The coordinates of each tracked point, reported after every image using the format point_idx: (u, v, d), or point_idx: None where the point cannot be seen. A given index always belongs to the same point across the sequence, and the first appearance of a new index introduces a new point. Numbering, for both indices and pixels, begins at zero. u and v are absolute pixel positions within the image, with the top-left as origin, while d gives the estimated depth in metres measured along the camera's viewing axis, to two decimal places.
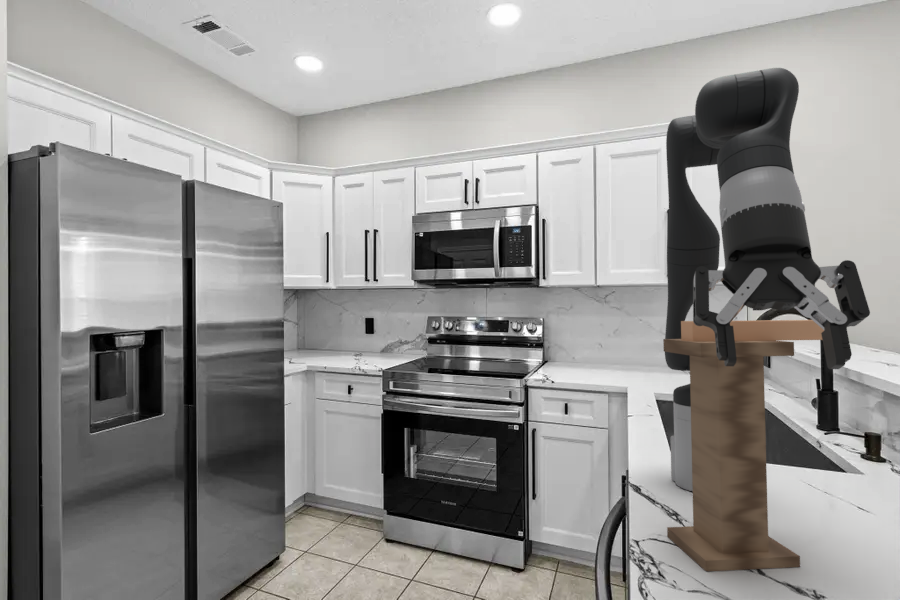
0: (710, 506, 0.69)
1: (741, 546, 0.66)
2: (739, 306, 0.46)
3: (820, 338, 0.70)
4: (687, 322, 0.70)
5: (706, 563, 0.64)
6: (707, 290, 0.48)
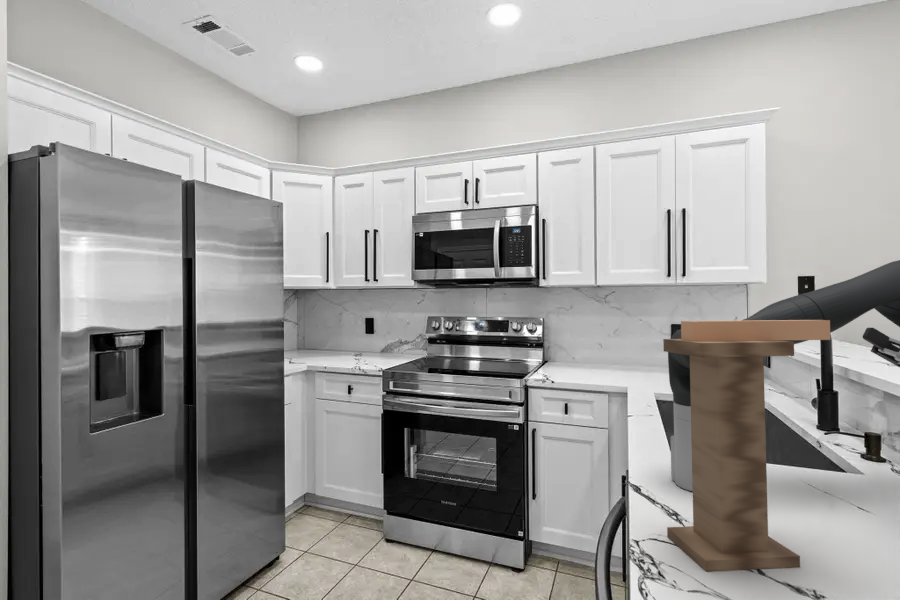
0: (710, 506, 0.69)
1: (741, 546, 0.66)
2: None
3: (820, 338, 0.70)
4: (687, 322, 0.70)
5: (706, 563, 0.64)
6: None
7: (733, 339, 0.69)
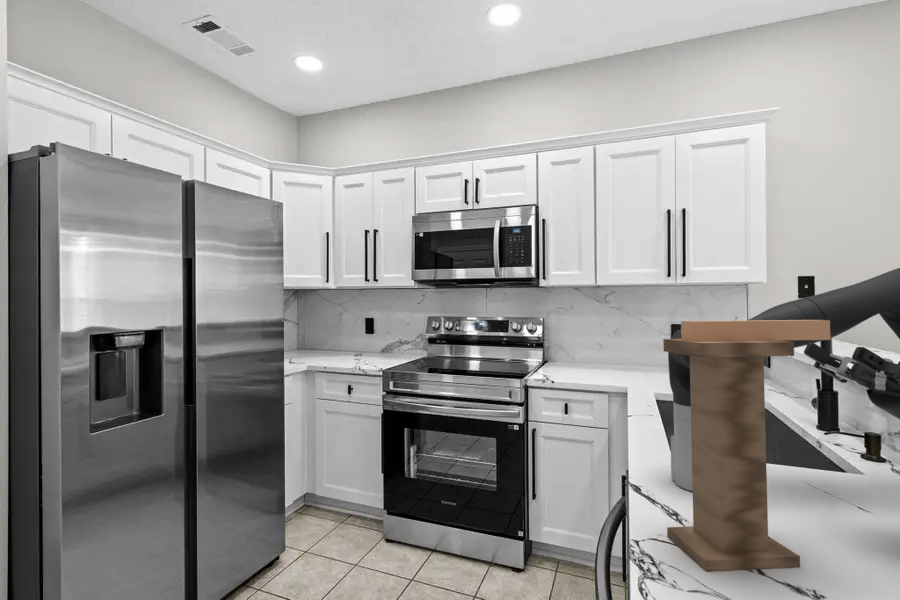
0: (710, 506, 0.69)
1: (741, 546, 0.66)
2: (876, 378, 0.69)
3: (820, 338, 0.70)
4: (687, 322, 0.70)
5: (706, 563, 0.64)
6: None
7: (733, 339, 0.69)
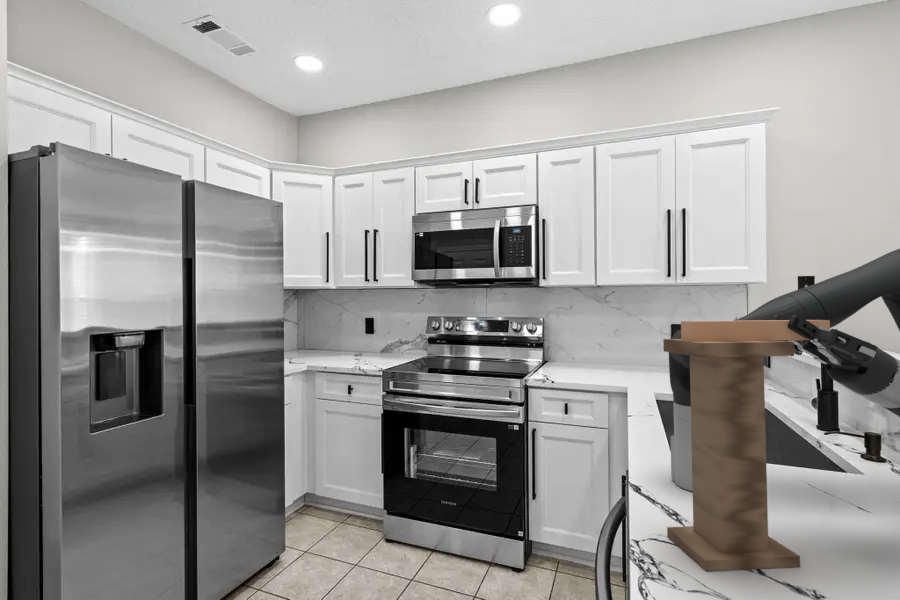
0: (710, 506, 0.69)
1: (741, 546, 0.66)
2: (818, 348, 0.70)
3: None
4: (687, 322, 0.70)
5: (706, 563, 0.64)
6: (846, 353, 0.67)
7: (733, 339, 0.69)
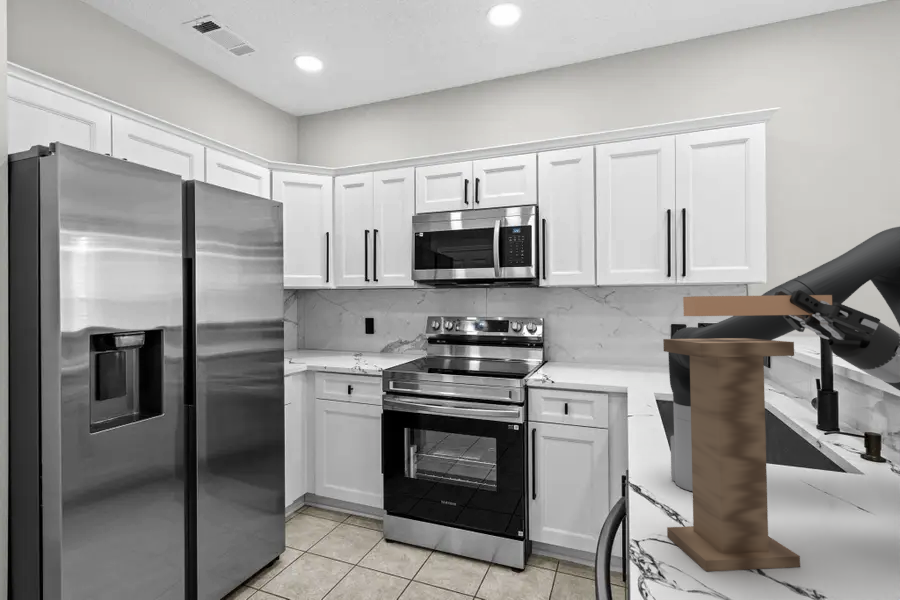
0: (710, 506, 0.69)
1: (741, 546, 0.66)
2: (820, 323, 0.70)
3: None
4: (689, 297, 0.70)
5: (706, 563, 0.64)
6: (848, 326, 0.67)
7: (735, 314, 0.69)
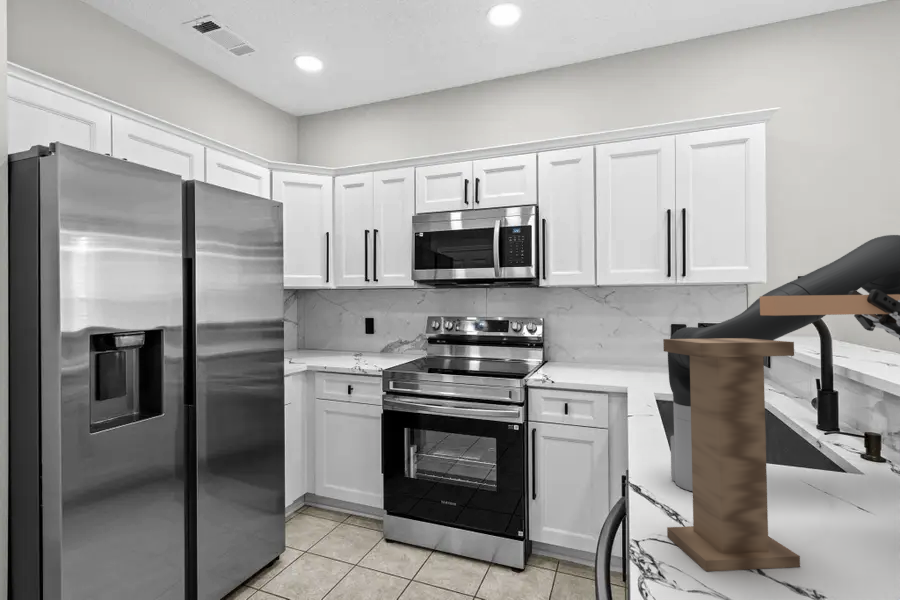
0: (710, 506, 0.69)
1: (741, 546, 0.66)
2: (897, 322, 0.71)
3: None
4: (767, 297, 0.71)
5: (706, 563, 0.64)
6: None
7: (814, 313, 0.70)
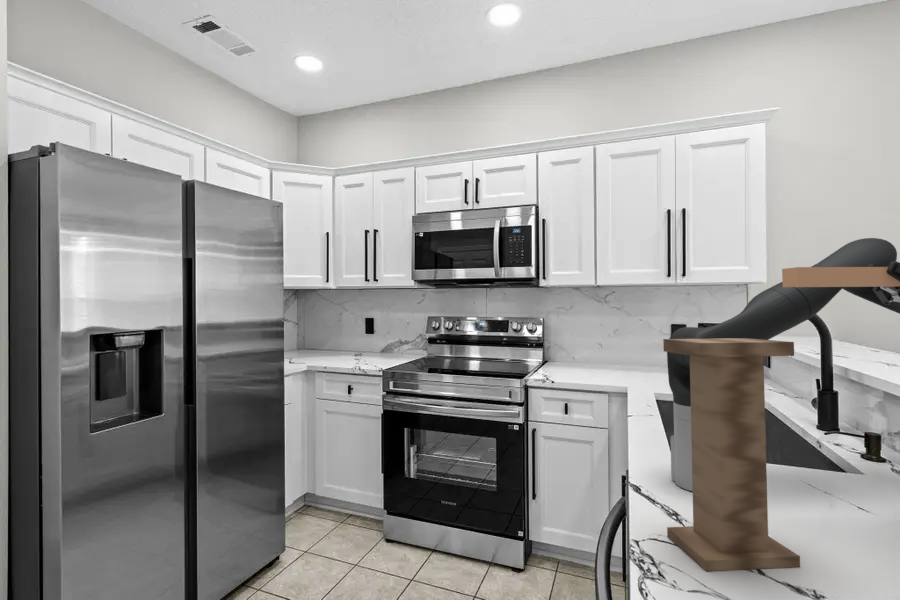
0: (710, 506, 0.69)
1: (741, 546, 0.66)
2: None
3: None
4: (790, 269, 0.73)
5: (706, 563, 0.64)
6: None
7: (835, 284, 0.72)
